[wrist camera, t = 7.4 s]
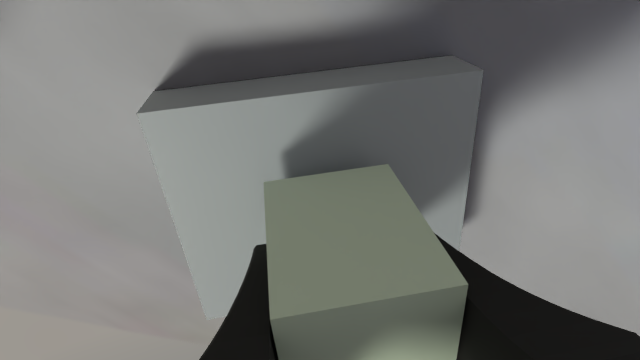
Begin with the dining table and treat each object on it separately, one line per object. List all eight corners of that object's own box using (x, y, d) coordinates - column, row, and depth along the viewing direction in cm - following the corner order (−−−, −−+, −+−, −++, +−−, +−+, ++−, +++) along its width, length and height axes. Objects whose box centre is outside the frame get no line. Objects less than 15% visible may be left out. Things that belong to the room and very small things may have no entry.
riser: (452, 55, 16) (483, 70, 14) (434, 243, 21) (455, 276, 19) (153, 91, 15) (136, 113, 13) (211, 280, 20) (206, 319, 18)
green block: (387, 163, 14) (468, 284, 9) (387, 258, 16) (450, 397, 11) (263, 182, 13) (269, 319, 8) (280, 276, 16) (293, 430, 11)
